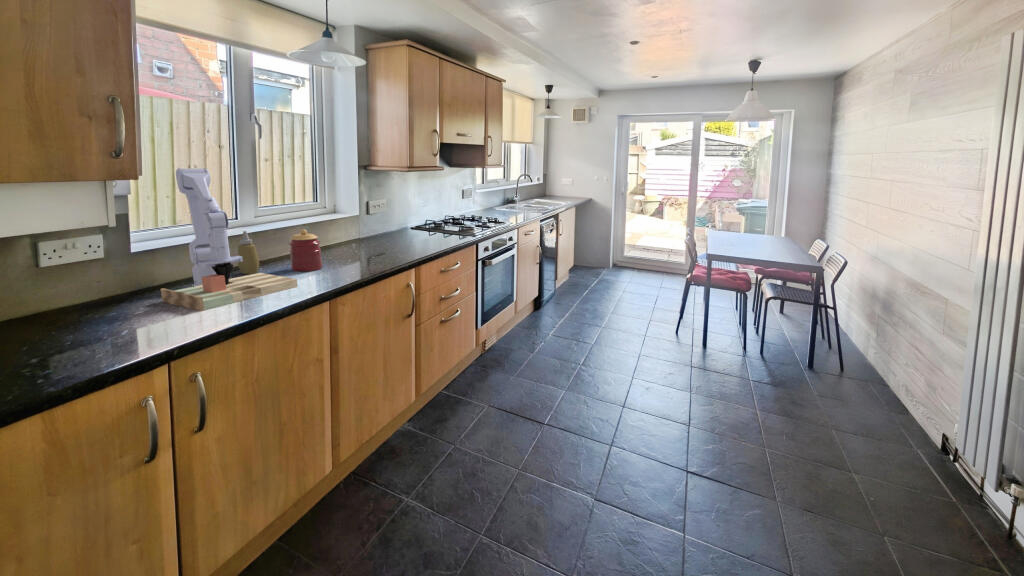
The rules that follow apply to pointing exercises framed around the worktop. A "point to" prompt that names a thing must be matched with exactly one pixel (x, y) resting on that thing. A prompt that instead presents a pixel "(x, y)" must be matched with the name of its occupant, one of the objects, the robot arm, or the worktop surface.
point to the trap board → (228, 291)
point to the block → (213, 283)
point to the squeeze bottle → (248, 255)
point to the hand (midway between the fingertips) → (224, 284)
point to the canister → (305, 252)
